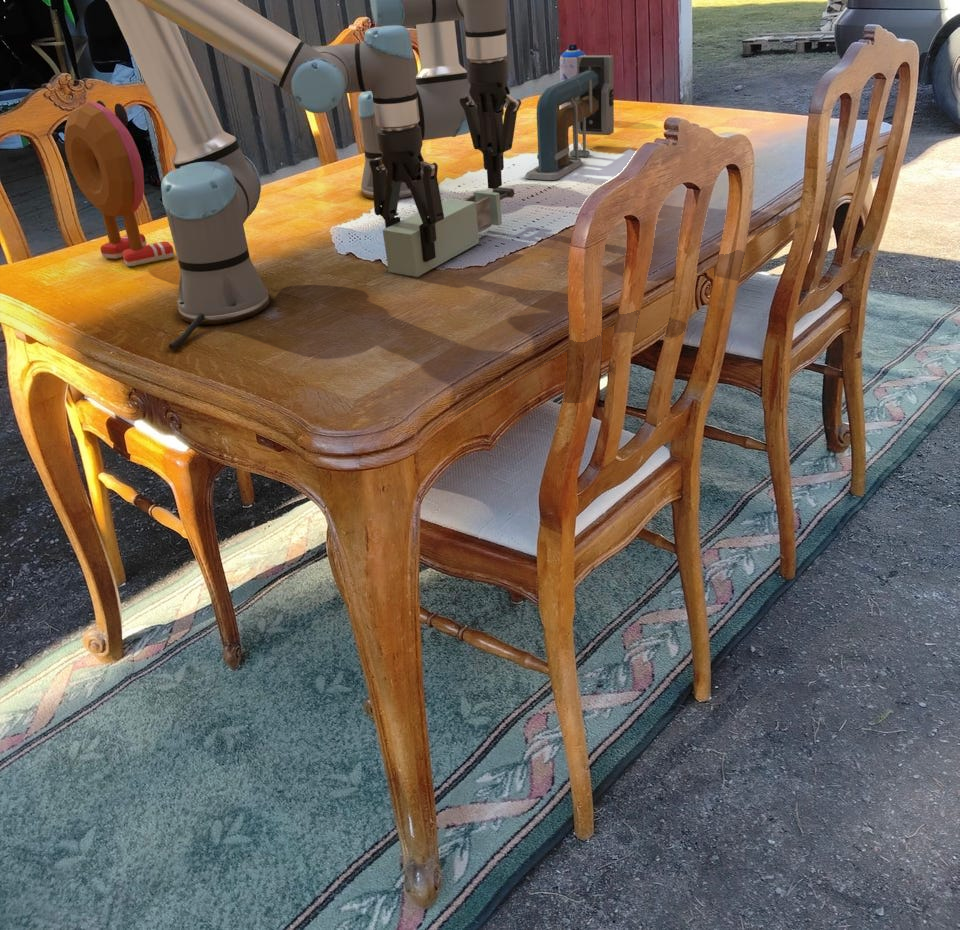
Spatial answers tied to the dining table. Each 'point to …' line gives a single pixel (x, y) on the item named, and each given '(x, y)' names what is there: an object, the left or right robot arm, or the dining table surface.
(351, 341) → the dining table surface
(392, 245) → the cabinet
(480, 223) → the drawer
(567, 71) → the aerosol can
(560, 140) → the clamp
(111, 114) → the toy
